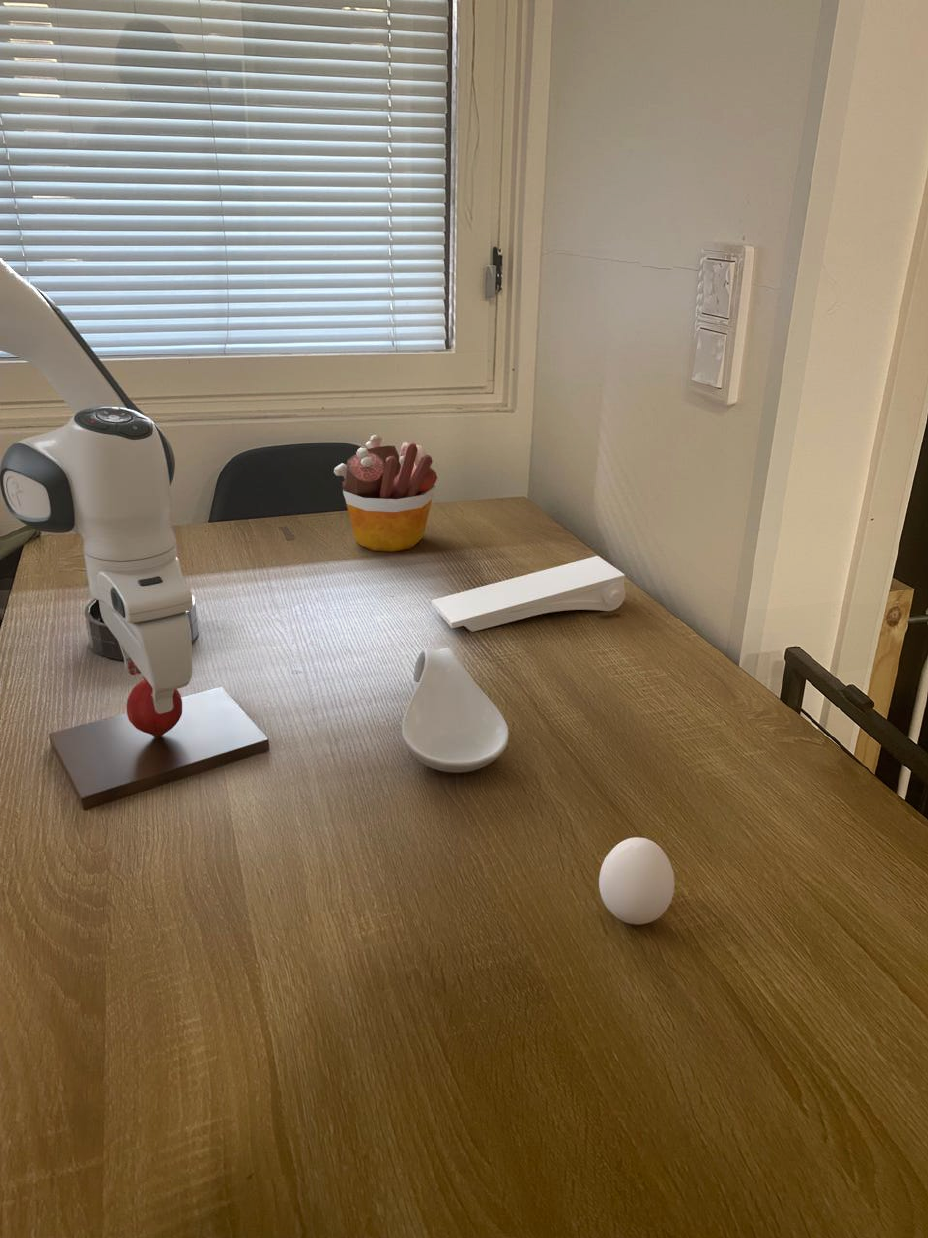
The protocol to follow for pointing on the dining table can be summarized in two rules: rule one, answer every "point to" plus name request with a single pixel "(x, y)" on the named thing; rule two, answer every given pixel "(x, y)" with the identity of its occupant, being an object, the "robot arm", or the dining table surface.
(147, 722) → the onion
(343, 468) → the bucket of meat
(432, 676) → the spoon rest
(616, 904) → the egg
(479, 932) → the dining table surface
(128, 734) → the board
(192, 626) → the pan
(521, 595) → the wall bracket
